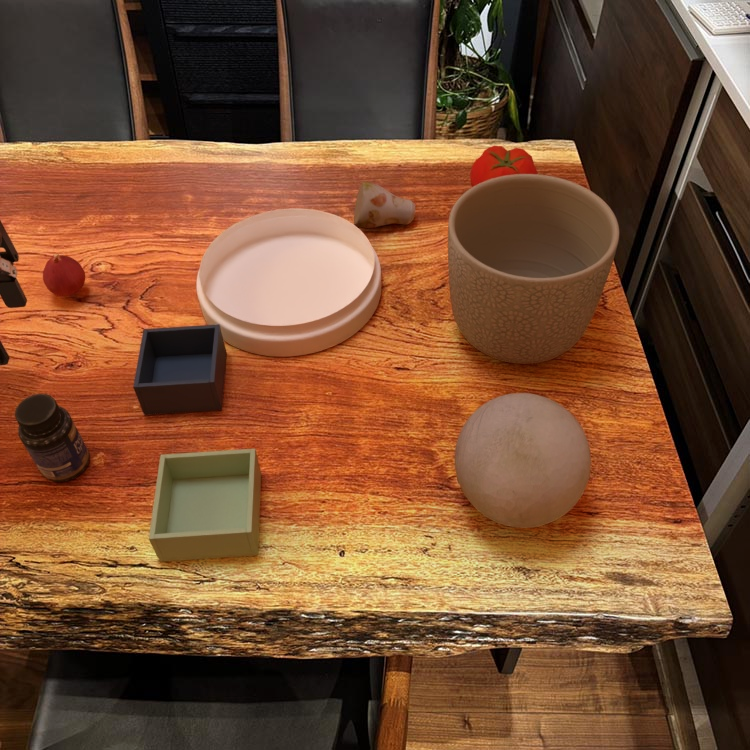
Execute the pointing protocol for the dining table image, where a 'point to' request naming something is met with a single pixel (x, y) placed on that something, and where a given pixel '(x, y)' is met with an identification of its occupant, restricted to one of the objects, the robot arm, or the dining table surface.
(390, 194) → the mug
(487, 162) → the tomato
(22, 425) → the pill bottle
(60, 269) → the onion
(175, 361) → the bin
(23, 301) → the robot arm
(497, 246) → the planter
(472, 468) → the decorative sphere
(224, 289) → the plate
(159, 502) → the box
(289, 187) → the dining table surface
